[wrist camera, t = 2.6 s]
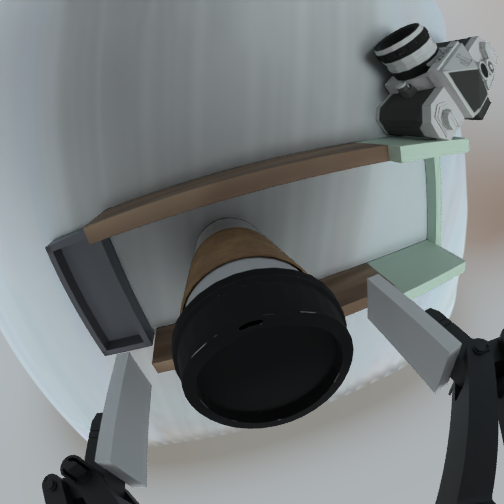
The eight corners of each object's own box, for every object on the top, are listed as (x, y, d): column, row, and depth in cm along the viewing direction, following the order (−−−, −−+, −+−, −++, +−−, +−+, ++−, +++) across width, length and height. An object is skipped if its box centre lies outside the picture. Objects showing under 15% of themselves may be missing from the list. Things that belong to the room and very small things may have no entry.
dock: (353, 142, 22) (399, 146, 16) (428, 132, 23) (473, 138, 17) (367, 272, 28) (403, 303, 22) (432, 246, 29) (469, 268, 23)
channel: (104, 210, 21) (83, 228, 16) (353, 142, 22) (387, 145, 18) (161, 337, 26) (158, 373, 21) (367, 272, 28) (394, 295, 23)
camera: (412, 10, 17) (475, -10, 8) (454, 68, 21) (518, 65, 12) (338, 80, 20) (414, 57, 11) (394, 148, 23) (474, 162, 14)
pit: (53, 240, 20) (45, 247, 19) (102, 220, 21) (95, 226, 19) (108, 344, 25) (104, 356, 23) (154, 333, 26) (152, 345, 24)
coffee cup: (263, 189, 23) (364, 264, 9) (286, 276, 26) (367, 400, 12) (165, 222, 22) (127, 347, 8) (201, 306, 25) (216, 453, 12)
